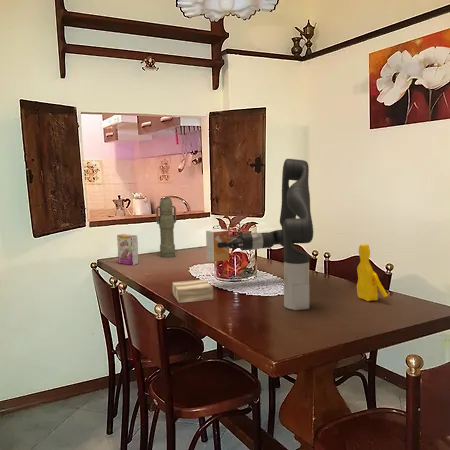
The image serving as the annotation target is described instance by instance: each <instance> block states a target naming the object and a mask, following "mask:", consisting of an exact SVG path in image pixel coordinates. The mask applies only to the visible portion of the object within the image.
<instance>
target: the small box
mask: <svg viewBox="0 0 450 450" xmlns="http://www.w3.org/2000/svg"><path fill="white" fill-rule="evenodd" d="M229 238H230V231H229V230H228V229H223V228H218V229H211V230H205V240H206V243H205V244H206V246H205V247H206V261H210V262H212V263H213V262H214V263H215V262H221V261H223V262H224V261H229V260H230V248H227V247H226V248H218V243H221V242H229Z"/></svg>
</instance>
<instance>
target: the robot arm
mask: <svg viewBox="0 0 450 450" xmlns="http://www.w3.org/2000/svg"><path fill="white" fill-rule="evenodd" d="M309 173H310V169H309V163H308V162H307V161H306V160H304V159H295V158H286V159H285V160H284V162H283V166H282V174H281V175H282V176H281V177H282V178H281V208H280V216H279V224H280V226H281V229H276V230H273V231H269V232H268V231H267V232H266V231H265V232H244V233H243V232H242V233H240V234H239V235H238V237H229V242H221V243H218V248H226V247H227V248H229V250H231V249H240V250H241V251H253V250H254V251H255V250H259V249H260V250H261V249H269V248H272V247H274V246H275V245H276V246H277V245H280V246H281V247H282V248H283V302H284V303H283V304H284V305H283V306H284V308H285V309H289V310H292V311H301V310H309V309H310V255H309V253H307V252H306V251H302V250H300V249H298V248H297V247H295V246H294V245H295V244H308V243H311V242H312V240H313V238H314V225H313V219H312V214H311V195H310V194H311V193H310V186H309ZM290 181H295V182H294V183H292V184H291V185H290ZM297 217H298V218H297Z"/></svg>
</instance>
